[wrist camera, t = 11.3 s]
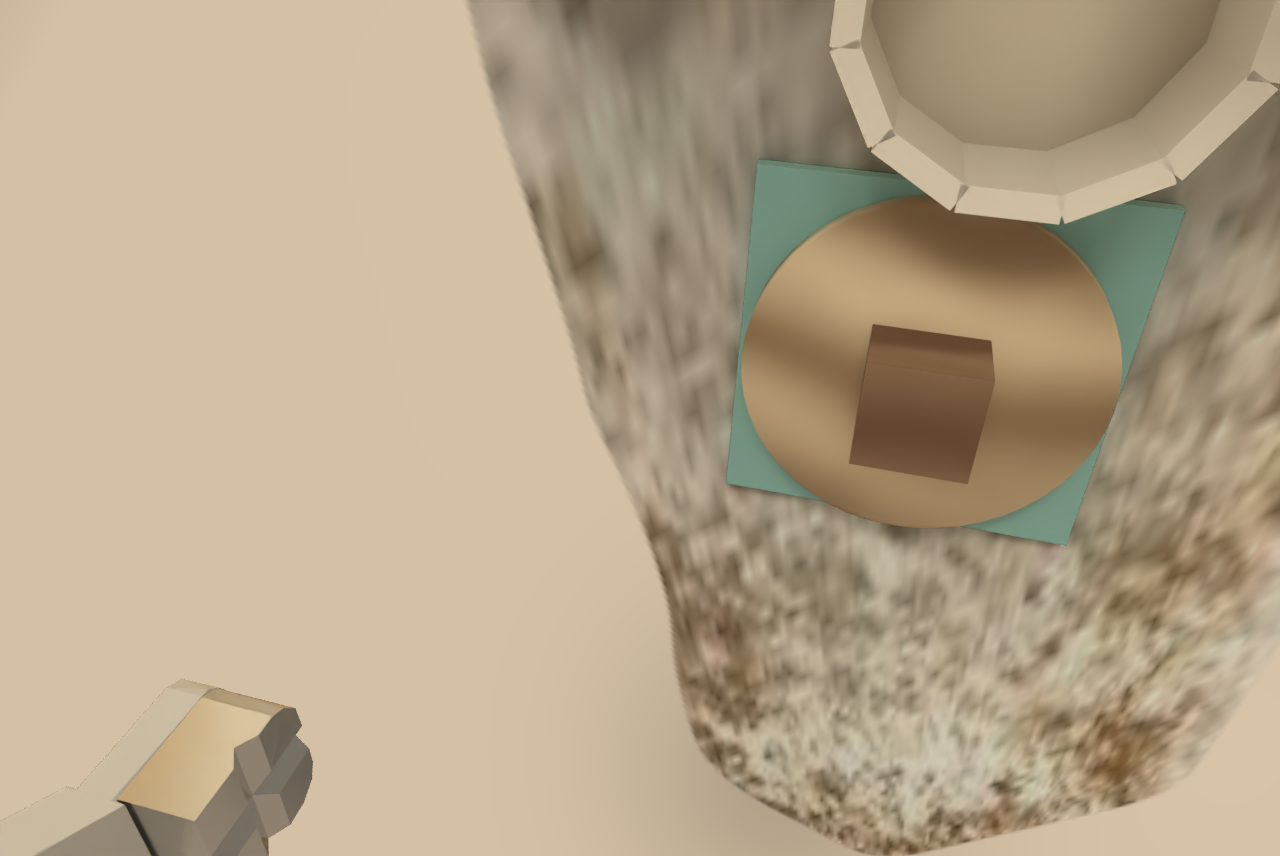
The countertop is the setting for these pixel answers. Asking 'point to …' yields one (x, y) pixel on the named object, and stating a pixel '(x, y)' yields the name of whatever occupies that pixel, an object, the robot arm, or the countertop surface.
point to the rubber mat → (814, 195)
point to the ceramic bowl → (1052, 94)
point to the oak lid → (931, 363)
